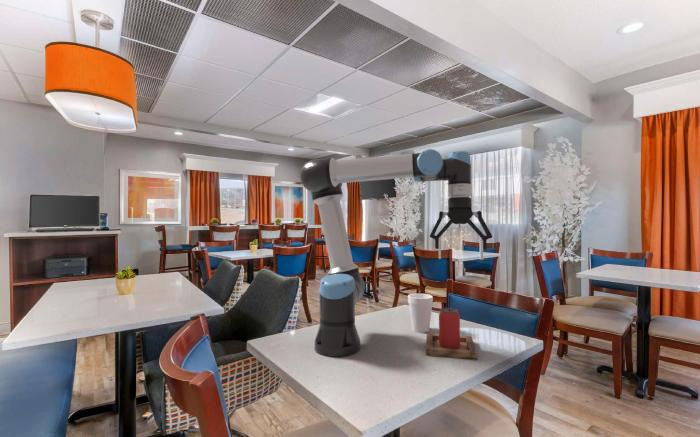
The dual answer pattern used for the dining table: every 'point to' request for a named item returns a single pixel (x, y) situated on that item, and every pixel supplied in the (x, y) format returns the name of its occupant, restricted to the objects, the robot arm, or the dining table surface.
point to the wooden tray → (463, 352)
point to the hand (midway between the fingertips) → (460, 259)
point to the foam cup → (420, 311)
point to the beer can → (449, 328)
